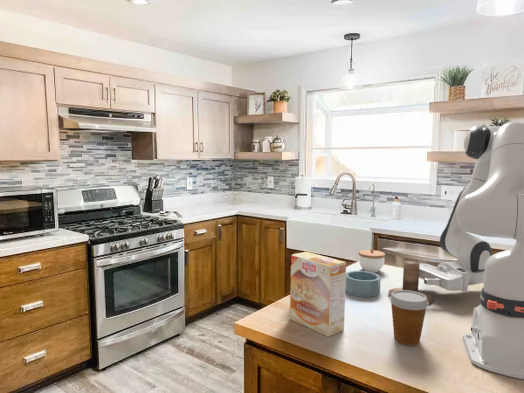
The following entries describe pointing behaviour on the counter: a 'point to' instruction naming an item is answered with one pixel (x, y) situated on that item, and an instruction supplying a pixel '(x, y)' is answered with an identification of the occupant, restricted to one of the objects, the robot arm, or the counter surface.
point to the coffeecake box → (318, 292)
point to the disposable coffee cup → (408, 315)
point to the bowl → (362, 283)
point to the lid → (411, 279)
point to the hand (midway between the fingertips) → (415, 277)
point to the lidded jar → (371, 260)
